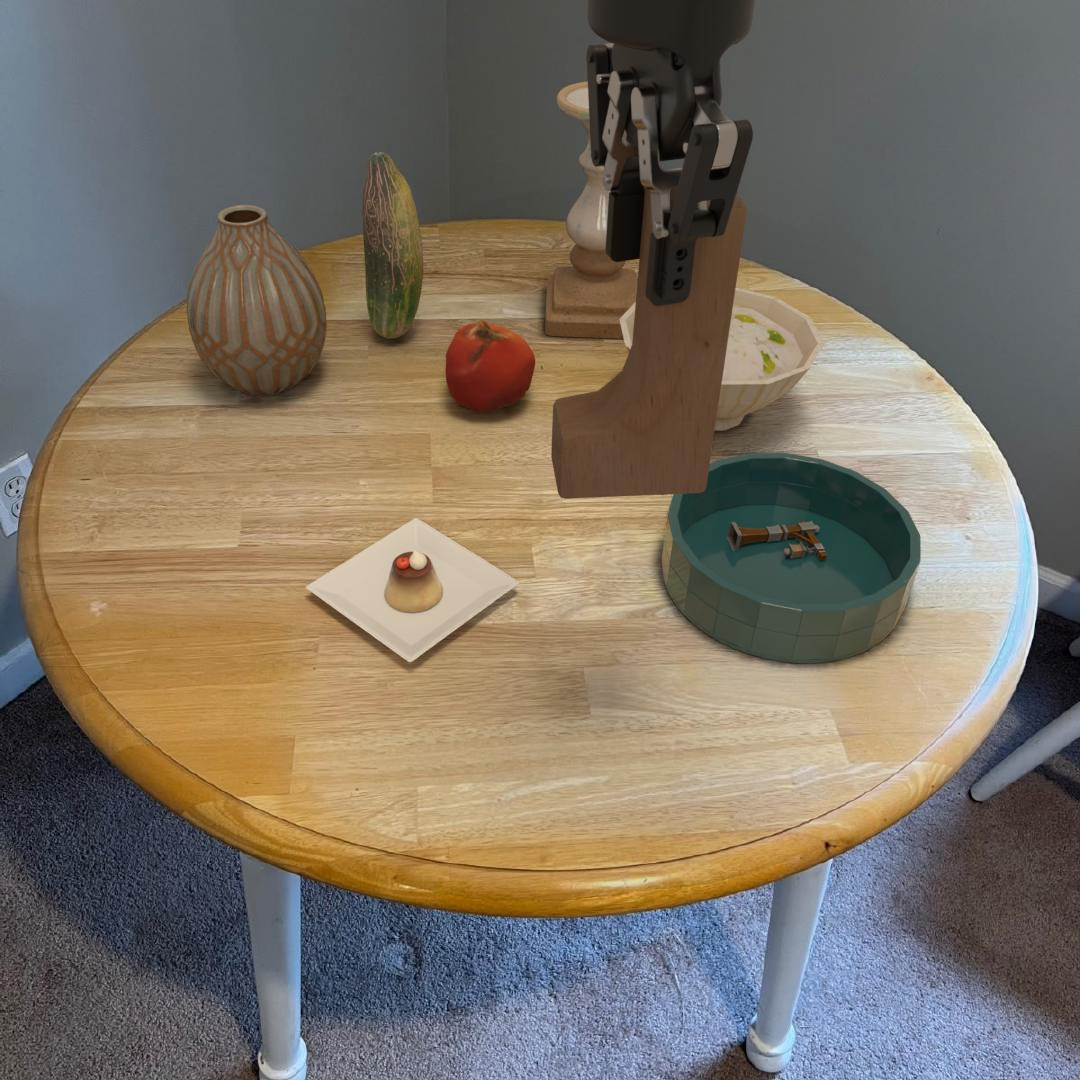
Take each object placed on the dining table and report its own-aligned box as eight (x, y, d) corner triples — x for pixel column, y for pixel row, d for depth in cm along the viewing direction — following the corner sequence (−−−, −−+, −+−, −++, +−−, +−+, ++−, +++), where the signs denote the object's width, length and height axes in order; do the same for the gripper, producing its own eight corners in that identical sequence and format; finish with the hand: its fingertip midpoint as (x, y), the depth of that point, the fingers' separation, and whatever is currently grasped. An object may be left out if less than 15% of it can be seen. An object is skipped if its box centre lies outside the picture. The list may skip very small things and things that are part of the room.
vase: (239, 429, 104) (208, 258, 93) (178, 371, 112) (143, 207, 100) (357, 385, 111) (341, 220, 99) (292, 333, 118) (271, 175, 107)
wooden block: (558, 501, 65) (570, 209, 53) (550, 458, 68) (559, 174, 57) (707, 495, 66) (750, 206, 54) (691, 452, 69) (729, 171, 58)
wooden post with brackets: (839, 548, 90) (818, 514, 94) (748, 555, 89) (730, 519, 92) (833, 565, 91) (812, 530, 95) (743, 571, 90) (725, 536, 93)
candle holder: (644, 339, 119) (667, 117, 104) (544, 336, 119) (551, 113, 104) (640, 292, 127) (660, 80, 112) (546, 289, 128) (553, 76, 112)
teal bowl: (954, 627, 86) (974, 575, 82) (734, 690, 80) (745, 637, 77) (819, 484, 100) (830, 434, 96) (623, 530, 94) (628, 478, 90)
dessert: (306, 597, 87) (299, 551, 83) (416, 527, 94) (413, 482, 90) (410, 673, 81) (407, 626, 78) (520, 592, 88) (521, 546, 85)
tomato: (505, 366, 114) (505, 297, 109) (552, 408, 108) (555, 337, 103) (426, 390, 110) (422, 319, 105) (471, 435, 104) (470, 362, 99)
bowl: (584, 375, 113) (589, 287, 107) (752, 349, 118) (766, 263, 112) (657, 483, 99) (668, 389, 93) (844, 449, 104) (866, 357, 98)
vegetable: (407, 317, 122) (397, 137, 109) (439, 339, 118) (432, 156, 105) (360, 333, 119) (344, 149, 106) (391, 357, 115) (379, 170, 102)
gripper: (540, -109, 52) (534, 234, 62) (670, -42, 41) (635, 355, 52) (684, -115, 54) (653, 218, 65) (841, -53, 43) (774, 331, 54)
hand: (645, 277), depth 58 cm, fingers closed on wooden block, 4 cm apart
